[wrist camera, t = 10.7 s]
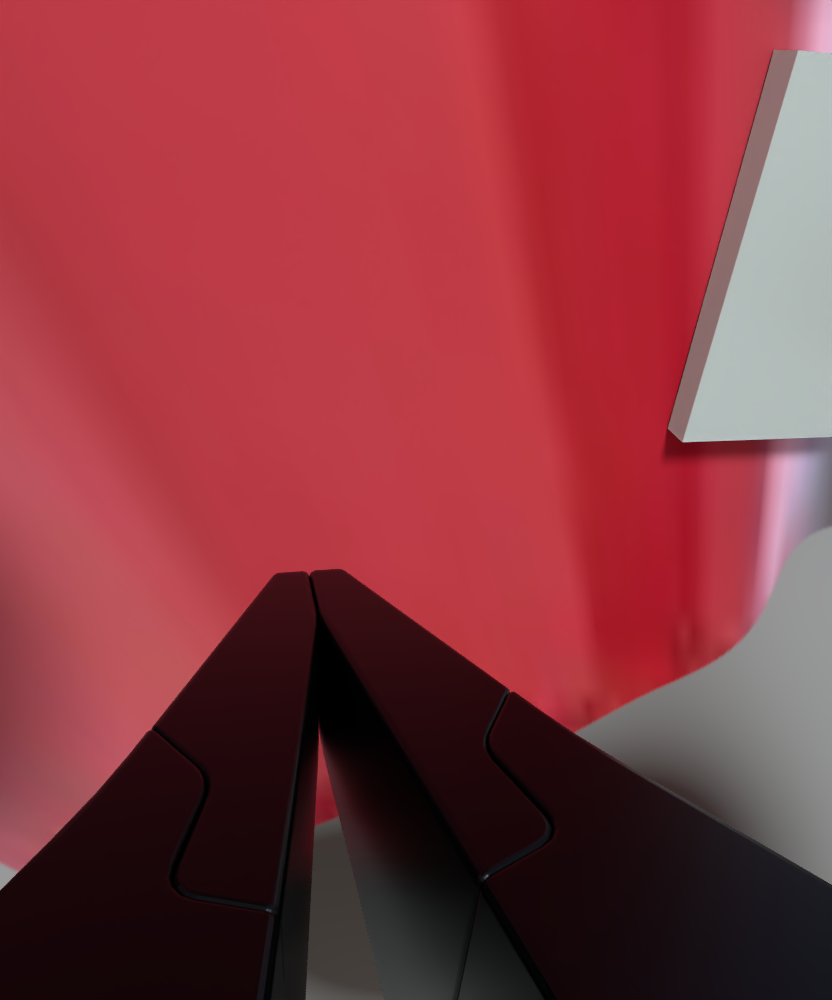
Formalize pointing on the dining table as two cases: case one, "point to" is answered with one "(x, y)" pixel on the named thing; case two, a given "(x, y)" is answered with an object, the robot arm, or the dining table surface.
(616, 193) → the dining table surface
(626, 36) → the dining table surface
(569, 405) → the dining table surface
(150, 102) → the dining table surface
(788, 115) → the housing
